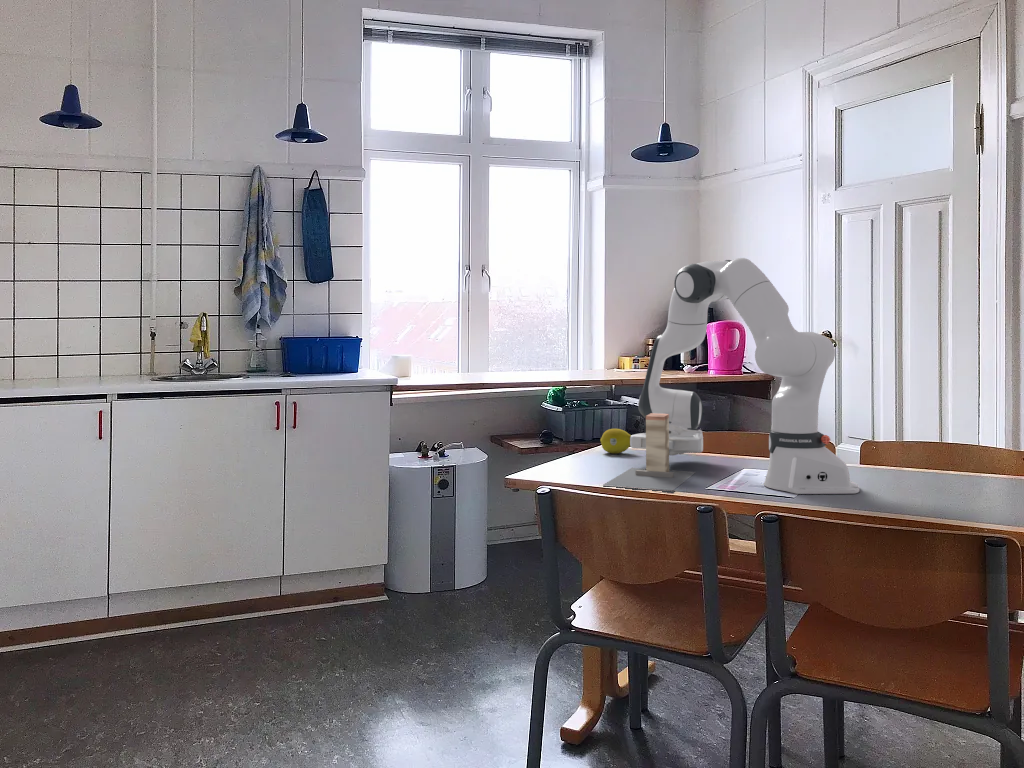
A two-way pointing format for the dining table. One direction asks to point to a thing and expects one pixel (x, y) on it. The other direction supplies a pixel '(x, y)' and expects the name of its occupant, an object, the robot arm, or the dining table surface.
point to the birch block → (657, 442)
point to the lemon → (615, 441)
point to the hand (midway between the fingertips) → (660, 446)
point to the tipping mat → (650, 480)
